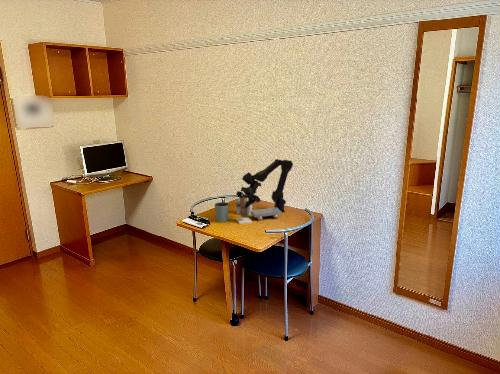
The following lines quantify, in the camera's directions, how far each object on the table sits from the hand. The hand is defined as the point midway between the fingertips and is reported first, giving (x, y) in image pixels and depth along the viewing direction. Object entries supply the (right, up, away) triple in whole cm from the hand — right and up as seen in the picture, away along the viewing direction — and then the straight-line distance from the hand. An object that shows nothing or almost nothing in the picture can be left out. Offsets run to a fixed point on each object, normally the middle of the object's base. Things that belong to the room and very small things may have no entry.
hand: (242, 207), depth 266 cm
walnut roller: (+1, -6, +3) cm, 7 cm away
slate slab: (+17, -8, +11) cm, 21 cm away
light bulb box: (+1, -6, +21) cm, 22 cm away
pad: (+1, -10, +4) cm, 11 cm away
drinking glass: (-14, -10, +7) cm, 19 cm away
